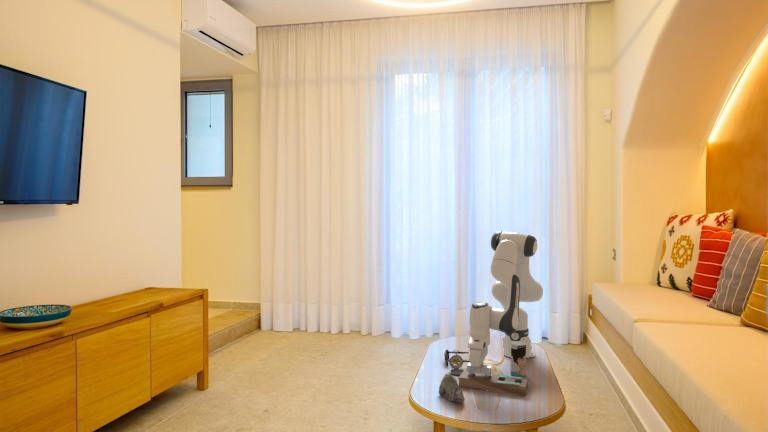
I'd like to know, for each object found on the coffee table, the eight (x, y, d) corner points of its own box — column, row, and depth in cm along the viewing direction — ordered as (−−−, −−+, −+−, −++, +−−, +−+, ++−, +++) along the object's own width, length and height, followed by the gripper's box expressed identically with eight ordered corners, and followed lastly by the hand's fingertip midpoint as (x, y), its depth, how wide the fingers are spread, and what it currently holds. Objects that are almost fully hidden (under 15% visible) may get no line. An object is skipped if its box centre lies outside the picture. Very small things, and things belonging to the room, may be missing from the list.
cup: (518, 379, 224) (519, 346, 224) (507, 374, 230) (507, 342, 229) (528, 376, 228) (529, 343, 227) (517, 371, 234) (517, 340, 233)
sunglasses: (475, 368, 239) (475, 358, 239) (443, 367, 242) (443, 356, 241) (474, 359, 253) (474, 349, 253) (444, 358, 255) (444, 348, 255)
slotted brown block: (464, 378, 224) (464, 369, 224) (528, 387, 214) (528, 378, 213) (458, 386, 215) (458, 376, 215) (525, 396, 204) (525, 386, 204)
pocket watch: (457, 376, 227) (457, 355, 227) (444, 371, 234) (444, 350, 233) (470, 373, 232) (470, 352, 231) (457, 368, 239) (457, 347, 238)
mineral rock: (464, 407, 194) (464, 382, 193) (436, 405, 196) (437, 380, 195) (464, 394, 206) (464, 370, 206) (439, 393, 208) (439, 369, 208)
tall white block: (468, 380, 220) (469, 363, 220) (491, 384, 216) (491, 365, 216) (467, 383, 218) (467, 365, 217) (490, 386, 214) (490, 368, 213)
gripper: (477, 332, 227) (477, 362, 228) (467, 345, 208) (467, 377, 209) (491, 334, 225) (491, 364, 225) (482, 346, 206) (481, 379, 206)
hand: (479, 370), depth 217 cm, fingers closed on tall white block, 3 cm apart
